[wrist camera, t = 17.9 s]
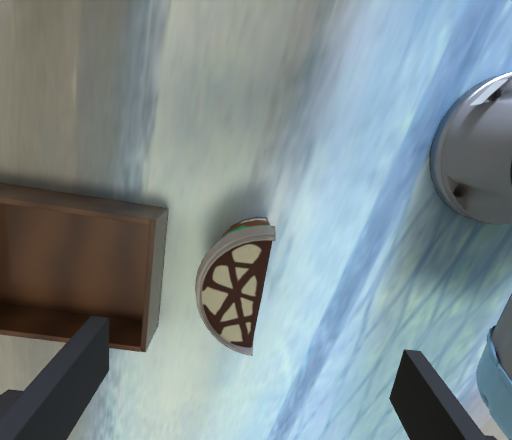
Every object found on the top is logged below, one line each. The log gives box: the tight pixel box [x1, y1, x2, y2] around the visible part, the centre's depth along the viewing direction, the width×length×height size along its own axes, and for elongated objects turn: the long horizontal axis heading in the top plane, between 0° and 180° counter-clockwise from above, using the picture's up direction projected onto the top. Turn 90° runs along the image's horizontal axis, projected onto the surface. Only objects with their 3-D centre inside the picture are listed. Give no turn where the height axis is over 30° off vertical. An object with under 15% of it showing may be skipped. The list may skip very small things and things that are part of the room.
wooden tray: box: [0, 183, 168, 352], centre depth 34 cm, size 21×15×5 cm
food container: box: [195, 217, 276, 356], centre depth 31 cm, size 12×6×10 cm, turn 170°
